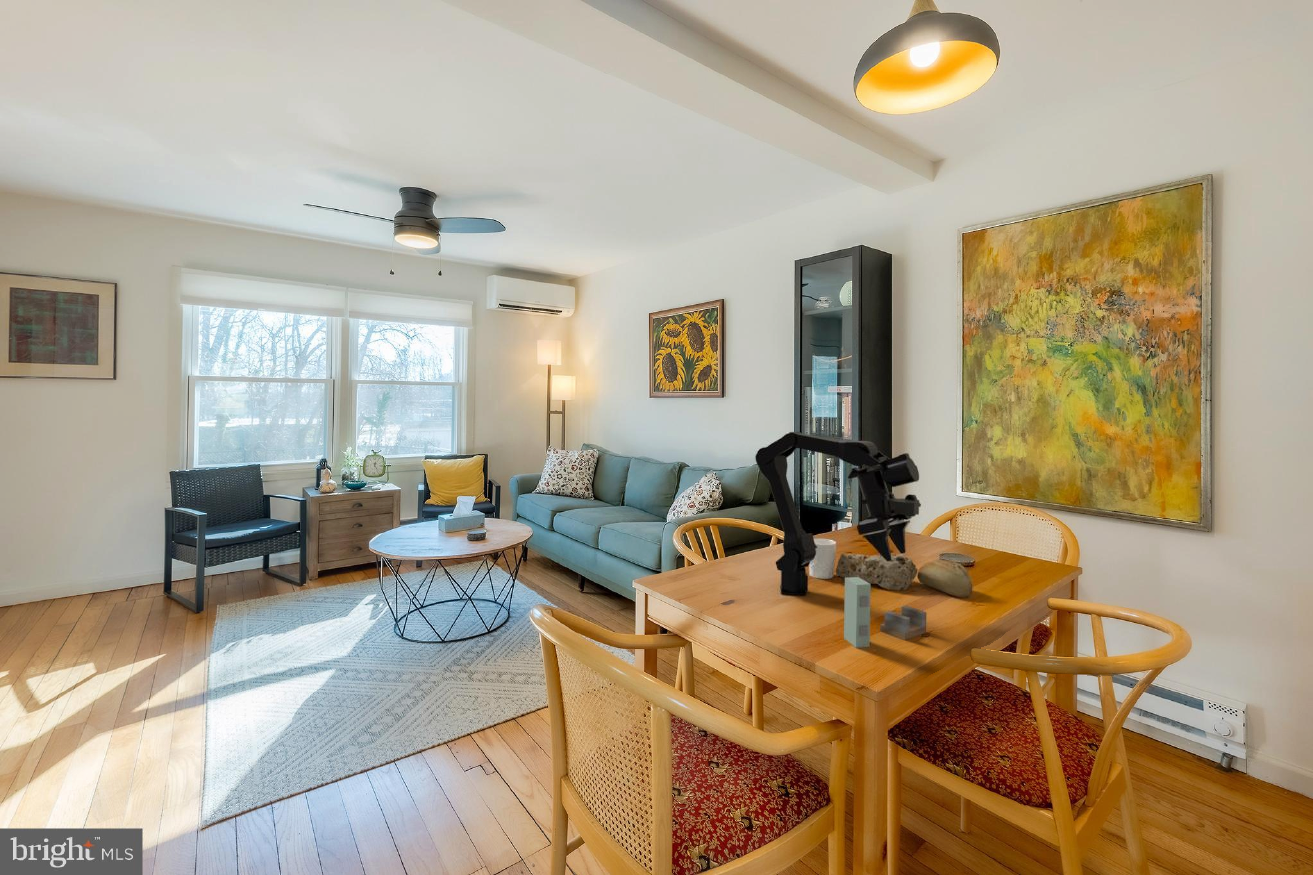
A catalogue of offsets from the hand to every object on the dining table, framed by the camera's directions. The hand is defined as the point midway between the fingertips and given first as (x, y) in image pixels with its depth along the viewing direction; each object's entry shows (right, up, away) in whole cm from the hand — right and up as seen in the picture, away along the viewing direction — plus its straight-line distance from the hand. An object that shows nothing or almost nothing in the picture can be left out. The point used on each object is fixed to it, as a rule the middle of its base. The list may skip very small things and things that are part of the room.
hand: (896, 556), depth 135 cm
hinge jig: (-2, -14, -9) cm, 17 cm away
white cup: (-8, -12, +33) cm, 36 cm away
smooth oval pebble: (+21, -13, +20) cm, 32 cm away
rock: (+6, -13, +28) cm, 32 cm away
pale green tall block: (-14, -15, -14) cm, 25 cm away
